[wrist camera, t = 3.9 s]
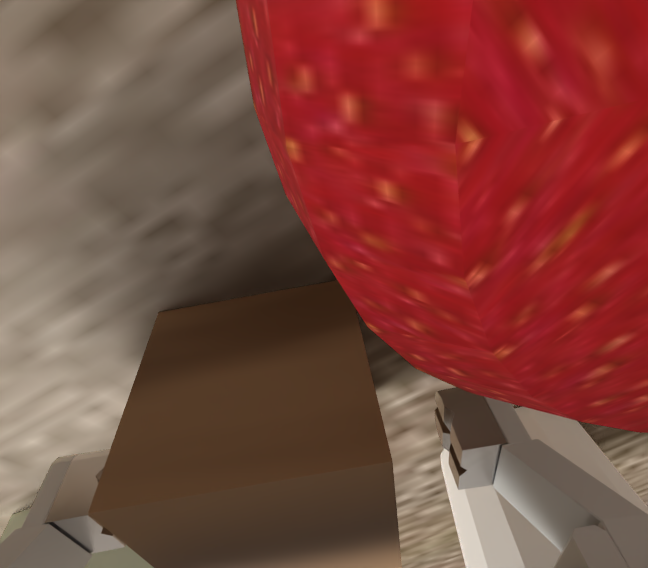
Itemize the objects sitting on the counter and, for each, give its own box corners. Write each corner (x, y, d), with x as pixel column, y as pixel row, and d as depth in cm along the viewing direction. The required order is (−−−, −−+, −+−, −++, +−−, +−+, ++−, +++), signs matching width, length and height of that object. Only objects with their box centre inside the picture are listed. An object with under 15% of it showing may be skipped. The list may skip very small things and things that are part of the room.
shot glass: (403, 433, 15) (479, 701, 9) (592, 370, 14) (807, 637, 8) (446, 502, 19) (516, 718, 13) (595, 459, 18) (741, 678, 12)
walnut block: (159, 310, 10) (88, 513, 6) (347, 276, 10) (392, 461, 6) (219, 418, 13) (195, 601, 10) (364, 393, 13) (401, 567, 9)
